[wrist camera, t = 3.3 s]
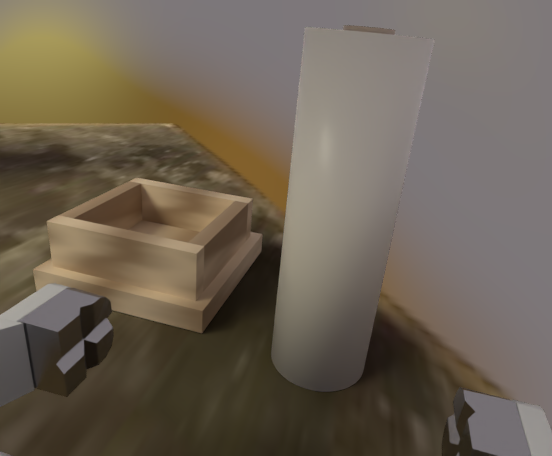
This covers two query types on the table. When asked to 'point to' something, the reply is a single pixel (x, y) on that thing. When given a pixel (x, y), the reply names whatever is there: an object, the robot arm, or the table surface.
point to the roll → (343, 197)
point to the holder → (154, 250)
